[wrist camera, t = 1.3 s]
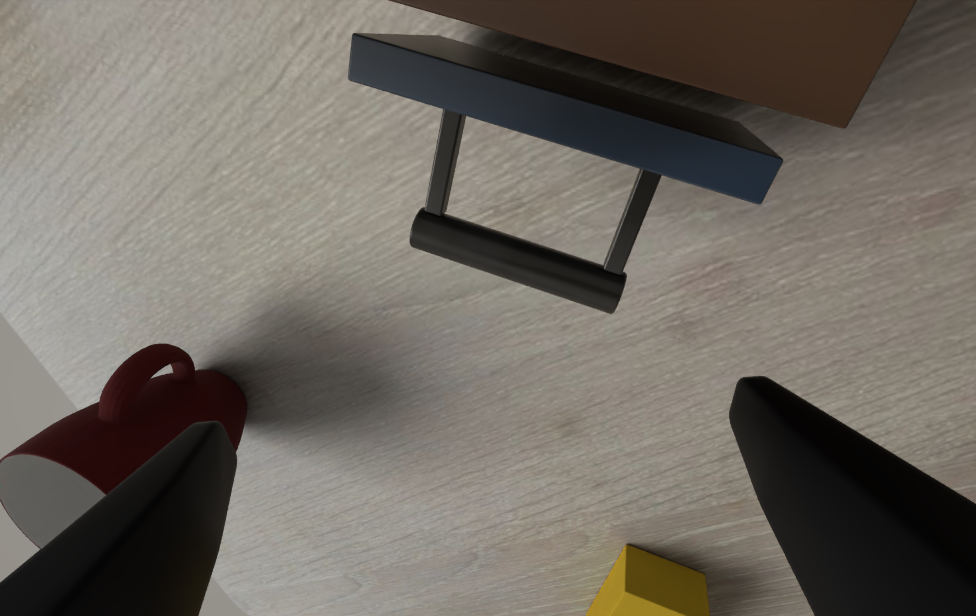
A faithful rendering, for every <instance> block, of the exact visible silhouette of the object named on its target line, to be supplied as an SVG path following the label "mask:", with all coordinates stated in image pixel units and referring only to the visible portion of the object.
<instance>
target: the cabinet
mask: <svg viewBox="0 0 976 616" xmlns="http://www.w3.org/2000/svg"><path fill="white" fill-rule="evenodd" d="M389 1H393V2H396V3H400V4H404V5H407V6H411V7H414V8H418V9H421V10H425V11H428V12H432V13H435V14H439V15H442V16H446V17H450V18H453V19H457V20H460V21H464V22H467V23H471V24H474V25H478V26H481V27H485V28H488V29H492V30H496V31H499V32H503V33H506V34H510V35H513V36H517V37H520V38H524V39H527V40H531V41H534V42H538V43H542V44H545V45H549V46H552V47H556V48H559V49H563V50H566V51H570V52H573V53H577V54H580V55H584V56H588V57H591V58H595V59H598V60H602V61H605V62H609V63H612V64H616V65H619V66H623V67H626V68H630V69H634V70H637V71H641V72H644V73H648V74H651V75H655V76H658V77H662V78H665V79H669V80H672V81H676V82H680V83H683V84H687V85H690V86H694V87H697V88H701V89H704V90H708V91H711V92H715V93H718V94H722V95H726V96H729V97H733V98H736V99H740V100H743V101H747V102H750V103H754V104H757V105H761V106H764V107H768V108H772V109H775V110H779V111H782V112H786V113H789V114H793V115H796V116H800V117H803V118H807V119H810V120H814V121H818V122H821V123H825V124H828V125H832V126H835V127H839V128H842V129H843V128H846V127H847V126H848V124H849V122H850V120H851V118H852V117H853V115H854V113H855V111H856V109H857V108H858V106H859V104H860V102H861V100H862V99H863V97H864V95H865V93H866V91H867V90H868V88H869V86H870V84H871V82H872V81H873V79H874V77H875V75H876V73H877V72H878V70H879V68H880V66H881V64H882V63H883V61H884V59H885V57H886V55H887V54H888V52H889V50H890V48H891V46H892V45H893V43H894V41H895V39H896V37H897V36H898V34H899V32H900V30H901V28H902V27H903V25H904V23H905V21H906V19H907V17H908V16H909V14H910V12H911V10H912V8H913V7H914V5H915V3H916V1H917V0H389Z"/></svg>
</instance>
